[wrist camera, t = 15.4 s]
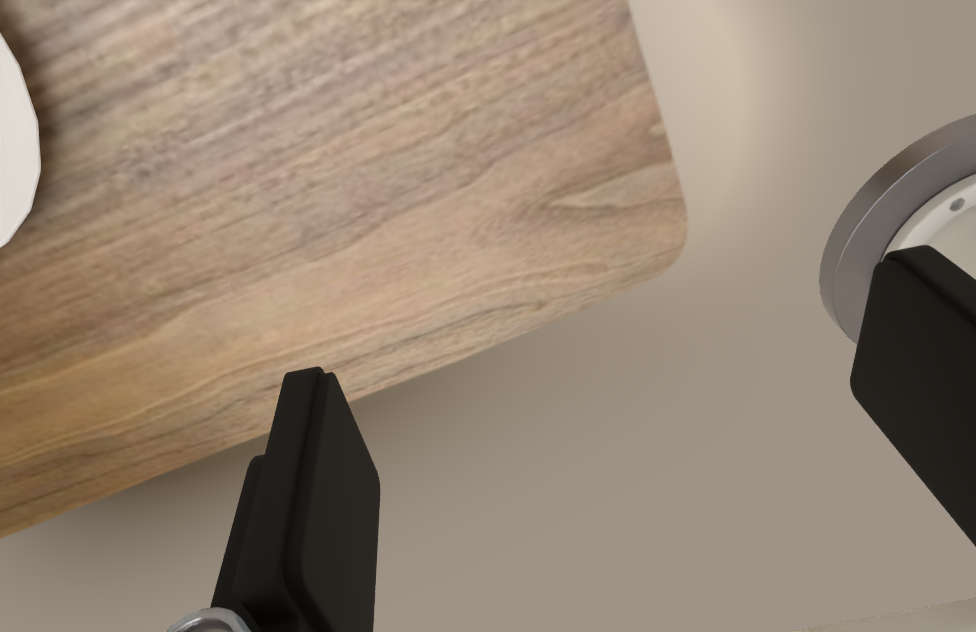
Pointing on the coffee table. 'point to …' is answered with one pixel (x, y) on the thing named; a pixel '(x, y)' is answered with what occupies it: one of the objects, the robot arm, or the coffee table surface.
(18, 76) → the plate
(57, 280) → the coffee table surface
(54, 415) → the coffee table surface
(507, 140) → the coffee table surface
